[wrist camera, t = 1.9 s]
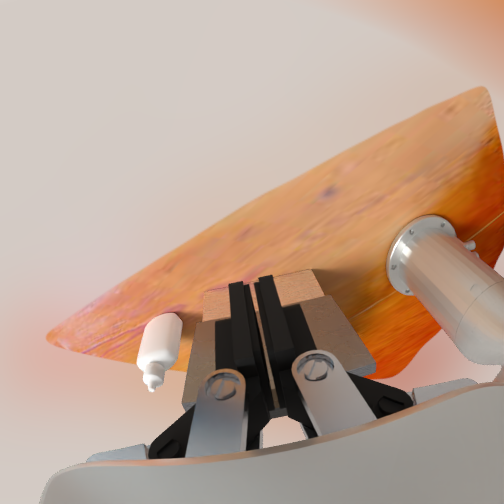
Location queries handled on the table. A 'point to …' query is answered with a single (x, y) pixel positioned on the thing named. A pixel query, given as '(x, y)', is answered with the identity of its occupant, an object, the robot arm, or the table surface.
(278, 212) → the table surface
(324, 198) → the table surface
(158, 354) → the eye dropper bottle
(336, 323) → the lid
